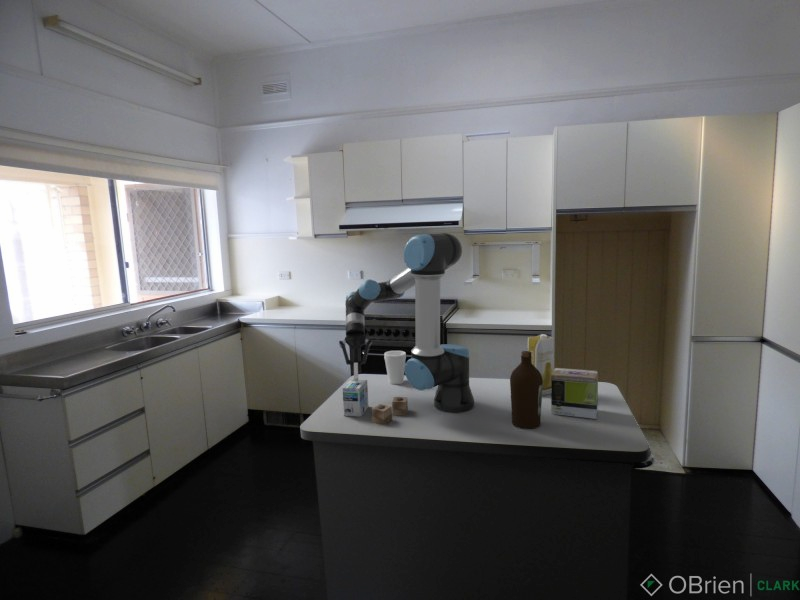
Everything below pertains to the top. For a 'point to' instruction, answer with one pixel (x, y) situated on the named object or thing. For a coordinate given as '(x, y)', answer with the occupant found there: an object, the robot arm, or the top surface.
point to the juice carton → (542, 358)
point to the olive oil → (526, 393)
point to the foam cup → (395, 366)
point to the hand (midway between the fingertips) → (356, 379)
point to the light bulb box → (355, 398)
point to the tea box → (574, 392)
